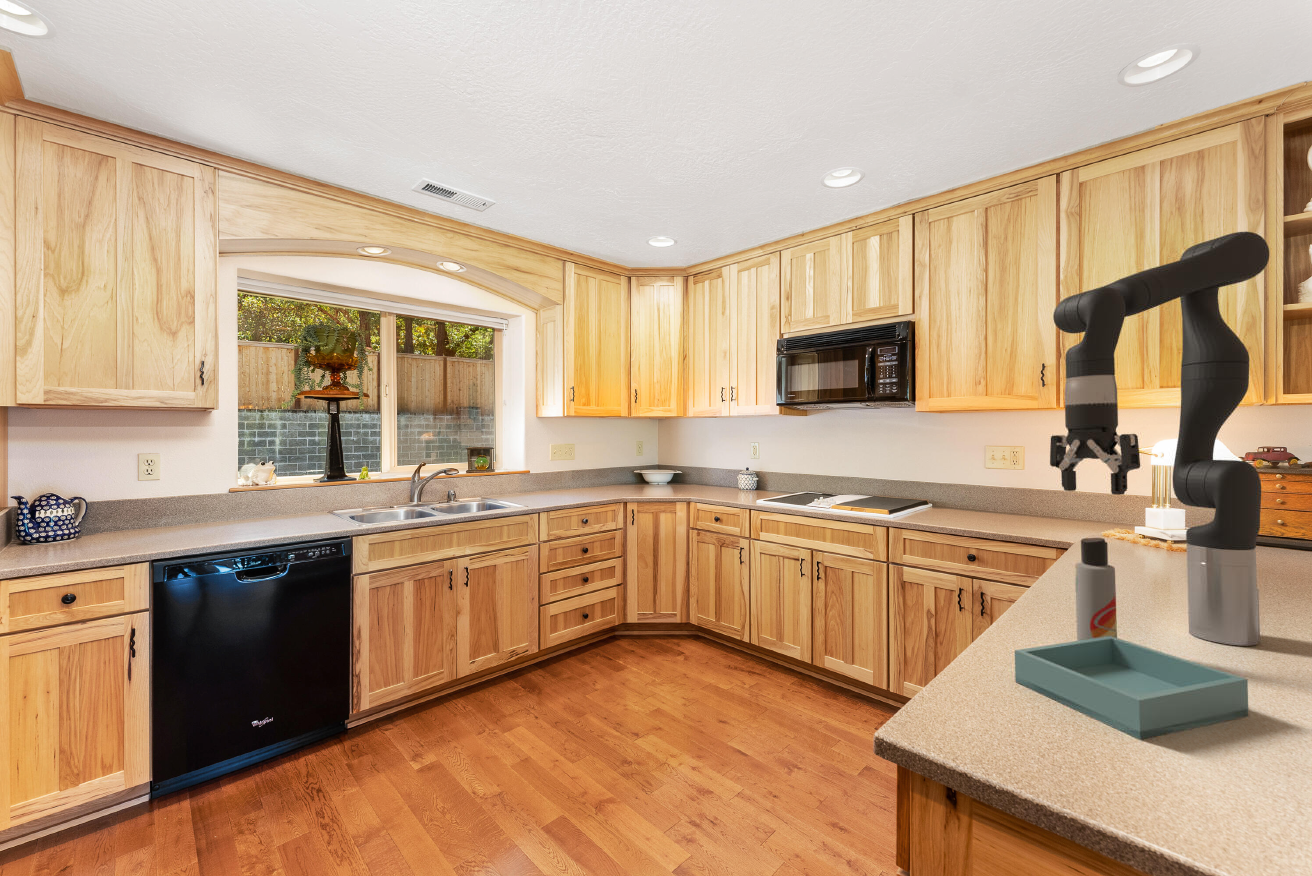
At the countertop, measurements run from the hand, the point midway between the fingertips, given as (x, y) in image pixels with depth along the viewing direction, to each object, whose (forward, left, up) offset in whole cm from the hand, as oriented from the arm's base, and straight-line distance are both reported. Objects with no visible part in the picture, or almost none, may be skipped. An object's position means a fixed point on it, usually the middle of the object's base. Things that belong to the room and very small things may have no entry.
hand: (1092, 492), depth 101 cm
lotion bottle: (0, 0, -28) cm, 28 cm away
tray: (+15, +15, -28) cm, 35 cm away
